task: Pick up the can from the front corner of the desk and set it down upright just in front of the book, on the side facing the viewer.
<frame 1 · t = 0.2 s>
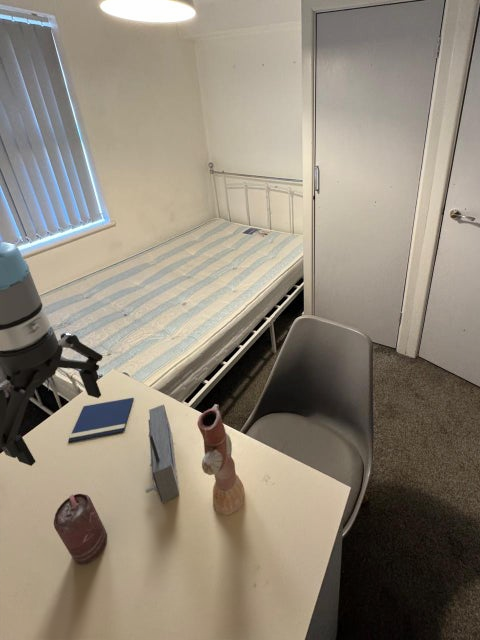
hand: (64, 425, 60), 30 cm above the table, tool pointing down, fingers open, 13 cm apart
electronic device: (161, 466, 82), on the table
book: (103, 419, 93), on the table
vase: (226, 502, 75), on the table
can: (91, 546, 67), on the table
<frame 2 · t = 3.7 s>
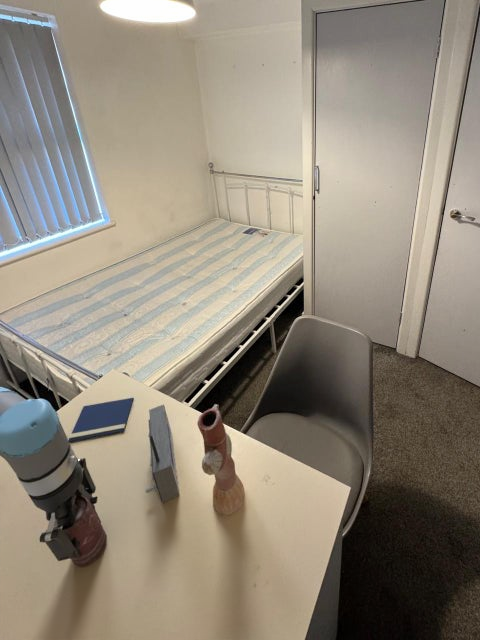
hand: (89, 540, 67), 2 cm above the table, tool pointing down, fingers open, 4 cm apart
can: (90, 548, 67), on the table, touching gripper
everything else where it was.
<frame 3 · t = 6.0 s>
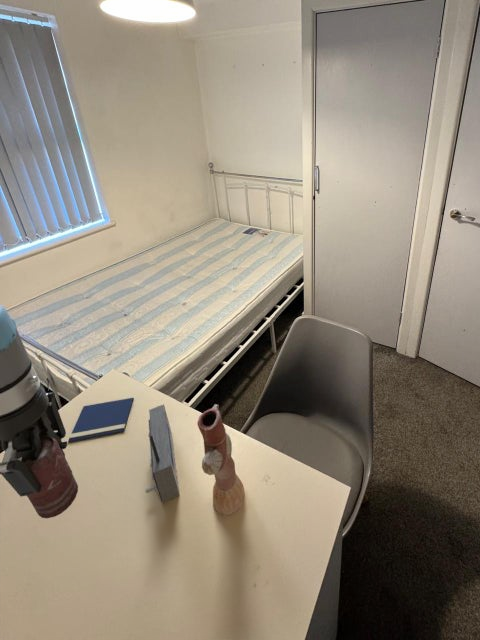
hand: (58, 486, 59), 21 cm above the table, tool pointing down
can: (59, 499, 58), point 19 cm above the table, touching gripper, hand
everything else where it was.
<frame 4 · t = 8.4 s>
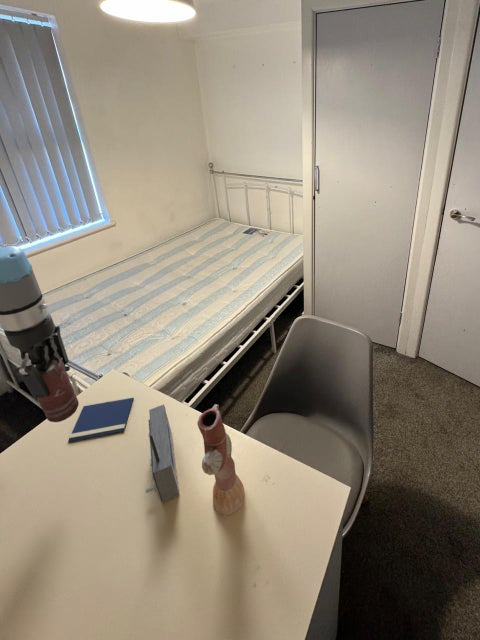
hand: (63, 401, 74), 22 cm above the table, tool pointing down
can: (63, 411, 74), point 20 cm above the table, touching gripper, hand
everything else where it was.
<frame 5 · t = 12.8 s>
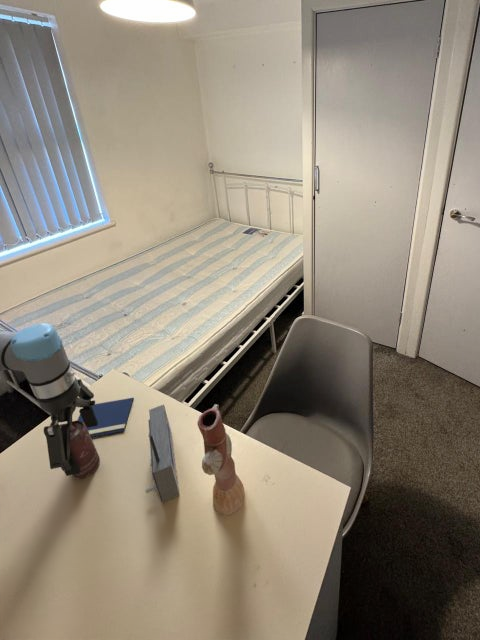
hand: (83, 447, 81), 5 cm above the table, tool pointing down, fingers open, 11 cm apart
can: (86, 466, 82), on the table
everything else where it was.
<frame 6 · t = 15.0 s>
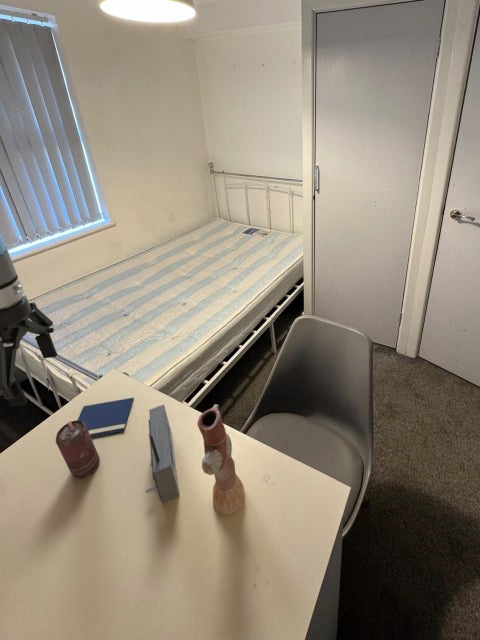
hand: (36, 378, 73), 27 cm above the table, tool pointing down, fingers open, 13 cm apart
nothing on the table moved.
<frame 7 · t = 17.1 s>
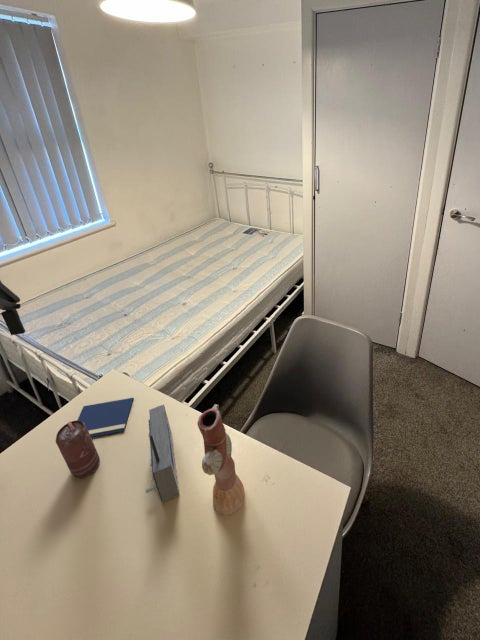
hand: (1, 353, 73), 33 cm above the table, tool pointing down, fingers open, 13 cm apart
nothing on the table moved.
at the end: can inside the target area on the table beside the book (1.6 cm from its centre), on the table; can tilted 0°; can touching table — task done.
